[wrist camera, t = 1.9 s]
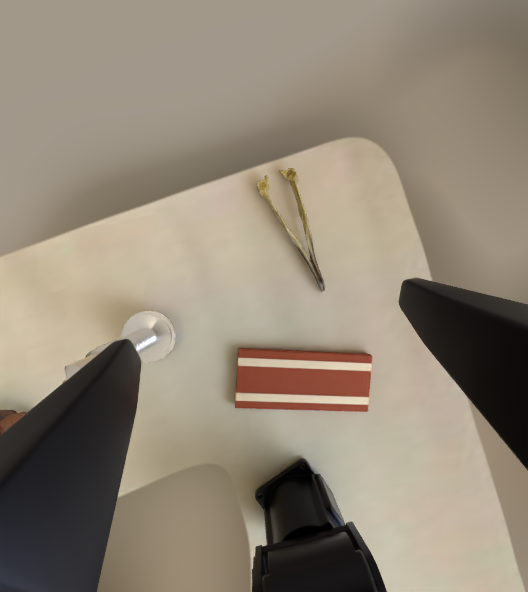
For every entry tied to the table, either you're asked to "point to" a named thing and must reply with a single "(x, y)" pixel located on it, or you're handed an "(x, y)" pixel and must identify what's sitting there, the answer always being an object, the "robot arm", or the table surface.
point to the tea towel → (303, 380)
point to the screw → (139, 339)
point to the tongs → (293, 178)
